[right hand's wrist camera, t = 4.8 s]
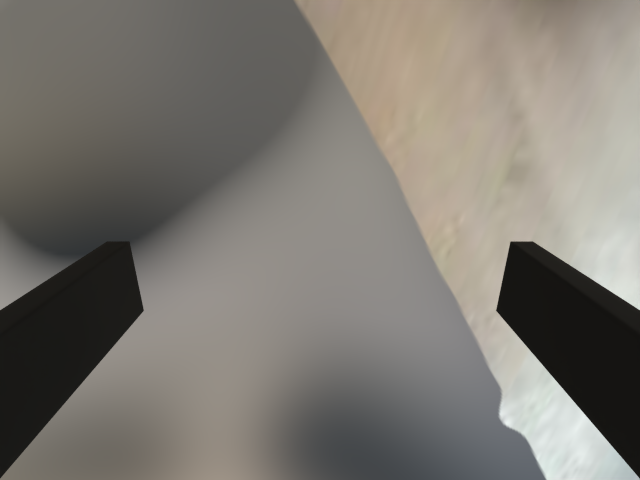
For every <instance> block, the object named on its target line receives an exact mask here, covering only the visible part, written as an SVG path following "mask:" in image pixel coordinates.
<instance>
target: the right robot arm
mask: <svg viewBox="0 0 640 480" xmlns="http://www.w3.org/2000/svg"><path fill="white" fill-rule="evenodd" d="M143 311H144V310H143V305H142V300H141V295H140V291H139V286H138V281H137V276H136V271H135V266H134V261H133V257H132V252H131V247H130V242H106V243H104V244H103V245H101V246H100V247H98V248H96V249H95V250H93V251H92V252H90V253H89V254H87V255H86V256H84V257H82V258H81V259H79V260H78V261H76V262H75V263H73V264H72V265H70V266H68V267H67V268H65V269H64V270H62V271H61V272H59V273H58V274H56V275H54V276H53V277H51V278H50V279H48V280H47V281H45V282H44V283H42V284H40V285H39V286H37V287H36V288H34V289H33V290H31V291H30V292H28V293H26V294H25V295H23V296H22V297H20V298H19V299H17V300H16V301H14V302H13V303H11V304H9V305H8V306H6V307H5V308H3V309H2V310H0V478H1V477H2V476H3V474H4V473H5V472H6V471H7V470H8V469H9V467H10V466H11V465H12V464H13V463H14V462H15V460H16V459H17V458H18V457H19V456H20V455H21V453H22V452H23V451H24V450H25V449H26V448H27V446H28V445H29V444H30V443H31V442H32V441H33V439H34V438H35V437H36V436H37V435H38V433H39V432H40V431H41V430H42V429H43V428H44V427H45V425H46V424H47V423H48V422H49V421H50V420H51V418H52V417H53V416H54V415H55V414H56V413H57V411H58V410H59V409H60V408H61V407H62V405H63V404H64V403H65V402H66V401H67V400H68V399H69V397H70V396H71V395H72V394H73V393H74V391H75V390H76V389H77V388H78V387H79V386H80V385H81V383H82V382H83V381H84V380H85V379H86V377H87V376H88V375H89V374H90V373H91V372H92V370H93V369H94V368H95V367H96V366H97V365H98V363H99V362H100V361H101V360H102V359H103V358H104V356H105V355H106V354H107V353H108V352H109V351H110V349H111V348H112V347H113V346H114V345H115V344H116V342H117V341H118V340H119V339H120V338H121V337H122V335H123V334H124V333H125V332H126V331H127V330H128V328H129V327H130V326H131V325H132V324H133V323H134V321H135V320H136V319H137V318H138V317H139V316H140V314H141V313H142V312H143ZM496 311H497V312H498V313H499V314H500V316H501V317H502V318H503V319H504V320H505V321H506V323H507V324H508V325H509V326H510V327H511V328H512V330H513V331H514V332H515V333H516V334H517V335H518V337H519V338H520V339H521V340H522V341H523V342H524V344H525V345H526V346H527V347H528V348H529V349H530V351H531V352H532V353H533V354H534V355H535V356H536V358H537V359H538V360H539V361H540V362H541V363H542V365H543V366H544V367H545V368H546V369H547V370H548V372H549V373H550V374H551V375H552V376H553V377H554V379H555V380H556V381H557V382H558V383H559V385H560V386H561V387H562V388H563V389H564V390H565V392H566V393H567V394H568V395H569V396H570V397H571V399H572V400H573V401H574V402H575V403H576V404H577V406H578V407H579V408H580V409H581V410H582V411H583V413H584V414H585V415H586V416H587V417H588V418H589V420H590V421H591V422H592V423H593V424H594V425H595V427H596V428H597V429H598V430H599V431H600V432H601V434H602V435H603V436H604V437H605V438H606V439H607V441H608V442H609V443H610V444H611V445H612V446H613V448H614V449H615V450H616V451H617V452H618V453H619V455H620V456H621V457H622V458H623V459H624V460H625V462H626V463H627V464H628V465H629V466H630V467H631V469H632V470H633V471H634V472H635V473H636V474H637V476H638V477H639V478H640V310H638V309H637V308H635V307H634V306H632V305H631V304H629V303H627V302H626V301H624V300H623V299H621V298H620V297H618V296H617V295H615V294H614V293H612V292H610V291H609V290H607V289H606V288H604V287H603V286H601V285H600V284H598V283H596V282H595V281H593V280H592V279H590V278H589V277H587V276H586V275H584V274H582V273H581V272H579V271H578V270H576V269H575V268H573V267H572V266H570V265H568V264H567V263H565V262H564V261H562V260H561V259H559V258H558V257H556V256H554V255H553V254H551V253H550V252H548V251H547V250H545V249H544V248H542V247H540V246H539V245H537V244H536V243H534V242H510V247H509V252H508V257H507V261H506V266H505V271H504V276H503V281H502V286H501V290H500V295H499V300H498V305H497V310H496Z"/></svg>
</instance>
